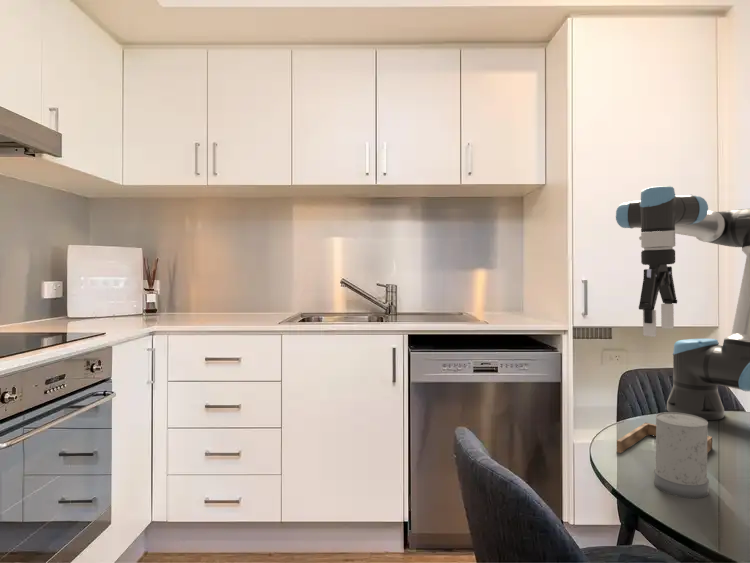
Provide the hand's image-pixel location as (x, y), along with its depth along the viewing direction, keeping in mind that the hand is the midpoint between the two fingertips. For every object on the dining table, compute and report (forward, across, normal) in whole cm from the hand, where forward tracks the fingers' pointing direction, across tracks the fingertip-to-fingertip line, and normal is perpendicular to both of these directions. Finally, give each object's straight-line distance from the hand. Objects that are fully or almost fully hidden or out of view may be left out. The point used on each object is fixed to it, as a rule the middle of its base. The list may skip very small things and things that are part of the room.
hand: (658, 332), depth 128 cm
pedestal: (+30, +21, +10) cm, 38 cm away
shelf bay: (+30, +1, +1) cm, 30 cm away
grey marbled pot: (+27, +21, +10) cm, 36 cm away
